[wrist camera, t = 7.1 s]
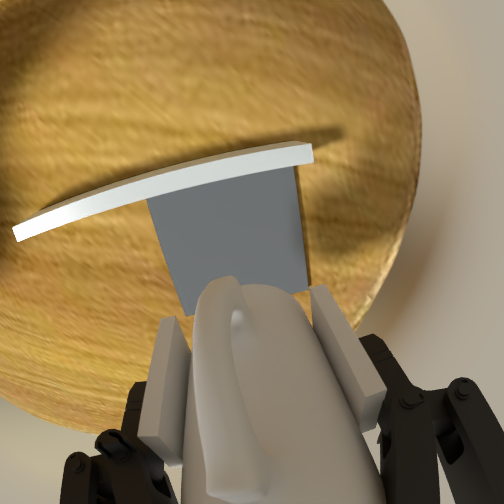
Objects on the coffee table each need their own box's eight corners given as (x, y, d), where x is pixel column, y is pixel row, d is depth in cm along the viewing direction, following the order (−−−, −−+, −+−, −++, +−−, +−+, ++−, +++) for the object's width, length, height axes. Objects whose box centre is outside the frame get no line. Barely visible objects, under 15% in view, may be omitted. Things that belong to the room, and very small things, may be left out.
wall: (42, 224, 20) (17, 241, 16) (37, 211, 19) (12, 227, 15) (296, 156, 20) (314, 162, 17) (294, 140, 20) (311, 143, 16)
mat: (186, 313, 25) (185, 316, 24) (146, 194, 20) (145, 195, 20) (307, 287, 25) (308, 289, 25) (291, 162, 20) (292, 163, 20)
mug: (316, 352, 17) (382, 527, 6) (214, 379, 17) (226, 560, 6) (284, 198, 13) (474, 459, 2) (145, 241, 13) (35, 509, 2)
